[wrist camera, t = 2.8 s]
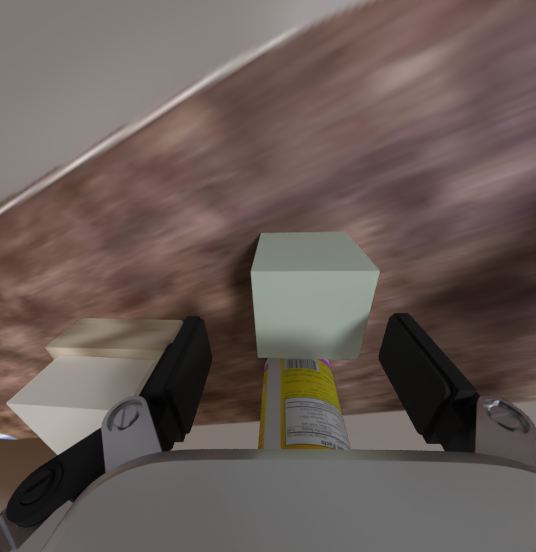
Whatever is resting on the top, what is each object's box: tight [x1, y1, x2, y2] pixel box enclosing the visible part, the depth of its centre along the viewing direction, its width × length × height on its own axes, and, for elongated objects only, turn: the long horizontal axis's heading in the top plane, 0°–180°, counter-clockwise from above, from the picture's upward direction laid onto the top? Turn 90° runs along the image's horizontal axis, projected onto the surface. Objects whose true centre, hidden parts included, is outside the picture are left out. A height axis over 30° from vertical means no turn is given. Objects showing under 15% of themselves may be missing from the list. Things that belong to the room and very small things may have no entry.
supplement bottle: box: [258, 358, 351, 450], centre depth 16 cm, size 7×7×13 cm
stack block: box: [251, 232, 380, 360], centre depth 14 cm, size 6×6×6 cm
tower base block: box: [45, 318, 183, 364], centre depth 21 cm, size 10×10×4 cm
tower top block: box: [6, 355, 156, 455], centre depth 18 cm, size 8×8×4 cm
